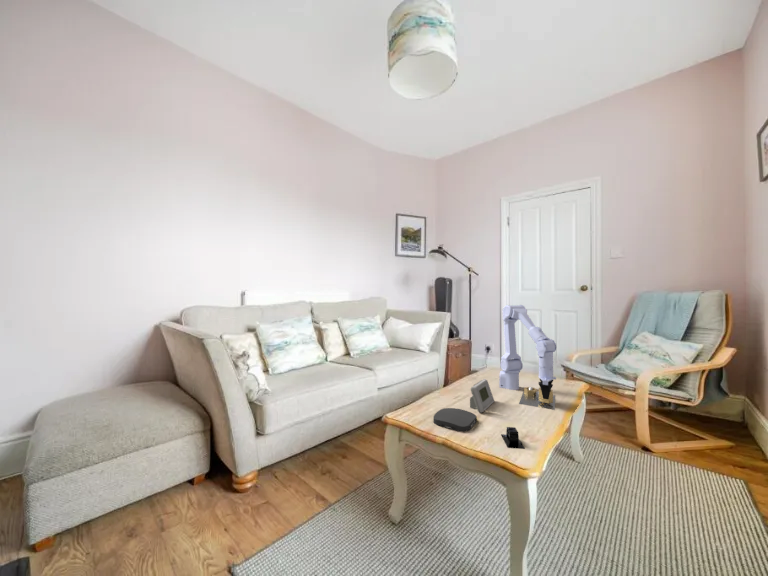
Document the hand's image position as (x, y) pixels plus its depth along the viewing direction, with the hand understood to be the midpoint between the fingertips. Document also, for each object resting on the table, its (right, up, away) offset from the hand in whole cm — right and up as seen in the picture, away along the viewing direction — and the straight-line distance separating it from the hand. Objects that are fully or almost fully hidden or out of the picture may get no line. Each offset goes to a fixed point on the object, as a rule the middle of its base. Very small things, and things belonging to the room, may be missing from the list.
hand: (546, 396), depth 137 cm
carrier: (-1, -4, +5) cm, 6 cm away
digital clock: (-29, -4, -2) cm, 30 cm away
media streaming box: (-45, -4, -17) cm, 48 cm away
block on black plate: (-29, -4, -32) cm, 44 cm away
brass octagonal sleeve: (0, -2, 0) cm, 2 cm away
